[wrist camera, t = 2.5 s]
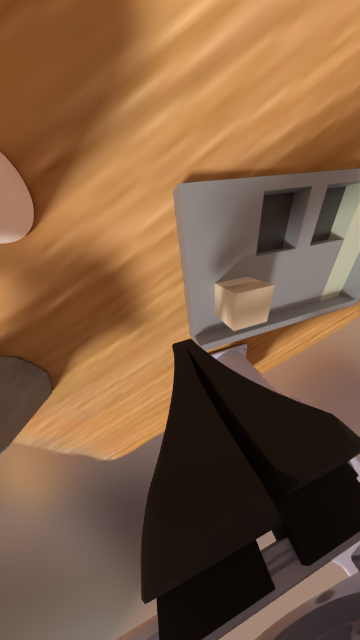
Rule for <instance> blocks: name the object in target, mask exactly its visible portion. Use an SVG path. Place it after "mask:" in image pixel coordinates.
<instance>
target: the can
mask: <svg viewBox="0 0 360 640" xmlns="http://www.w3.org/2000/svg"><path fill="white" fill-rule="evenodd" d="M33 219H34V208H33V203H32V199H31V196H30V193H29V191H28V189H27V187H26V185H25V183H24V181H23V179H22V178H21V176H20V175H19V173H18V172H17V170H16V169H15V168H14V166H13V165H12V164H11V163H10V162H9V160H8V159H7V158H6V157H5V156H4V155H3V154H2V153H1V152H0V244H4V243H11V242H15V241H17V240H20V239H21V238H23V237H24V236H25V235H26V234H27V233H28V232H29V231H30V229H31V227H32V224H33Z"/></svg>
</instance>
